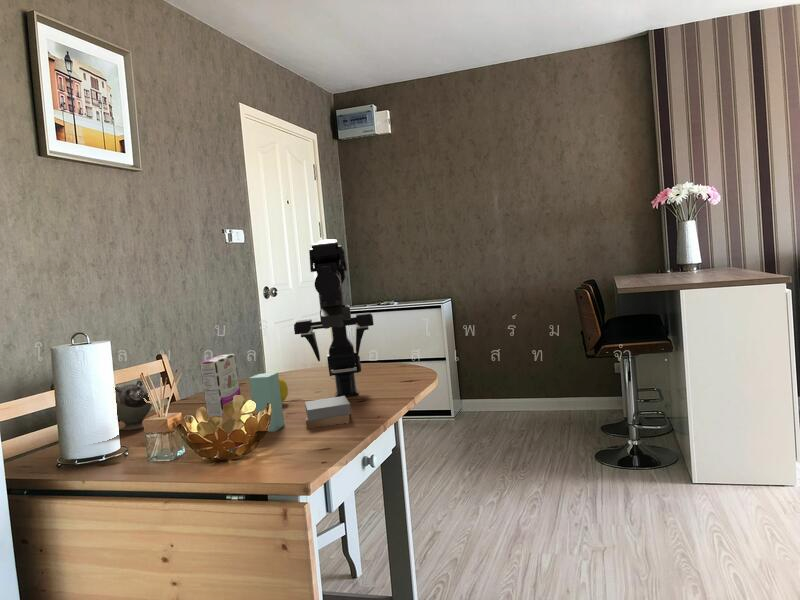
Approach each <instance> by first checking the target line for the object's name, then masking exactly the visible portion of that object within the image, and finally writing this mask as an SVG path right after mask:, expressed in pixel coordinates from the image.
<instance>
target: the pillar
mask: <svg viewBox="0 0 800 600" xmlns="http://www.w3.org/2000/svg"><path fill="white" fill-rule="evenodd" d="M279 378H280V377H279V373H278V372H267V373H264V372H263V373H258V374H255V375H253V376H250V377H249V378H248V381H249V388H250V396H251V402H252V401H254V402H255V403H256V412H259V411H262V410H264V409H265V408H266V406H267V403H270V404H271V409H272V415H271V421H270V426H269V430H268V432H277V431H279V430H280V429H281V428H283V427H284V426H285V418H284V411H283V410H284V409H283V401H281V393H280V385H279Z"/></svg>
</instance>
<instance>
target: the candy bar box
mask: <svg viewBox="0 0 800 600" xmlns="http://www.w3.org/2000/svg"><path fill="white" fill-rule="evenodd" d="M237 367H238V366H237V361H236V354H235V353H228V354H227V353H226V354H221V355H220V354H219V355H217V356H214V357H211V358H209V359H206V360H204V361H201V362H200V363H199V369H200V374H201V381H202V382H201V383H202V387H203V394H204V402H205V408H206V413H207V412H208V414H209V417H213V416H222V415H223V405H224V404H226V403H230V402H232V400H233V396H234V395H241V388H240V381H239V380H240V379H239V374H238V368H237Z"/></svg>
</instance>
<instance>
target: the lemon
mask: <svg viewBox="0 0 800 600" xmlns="http://www.w3.org/2000/svg"><path fill="white" fill-rule="evenodd" d="M279 385H280V393H281V401H282V402H284V401H285V400H286V399H287V398H288V395H289V388H288V384H287V382H286V381H285V380H284V378H282V377H279Z"/></svg>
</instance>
